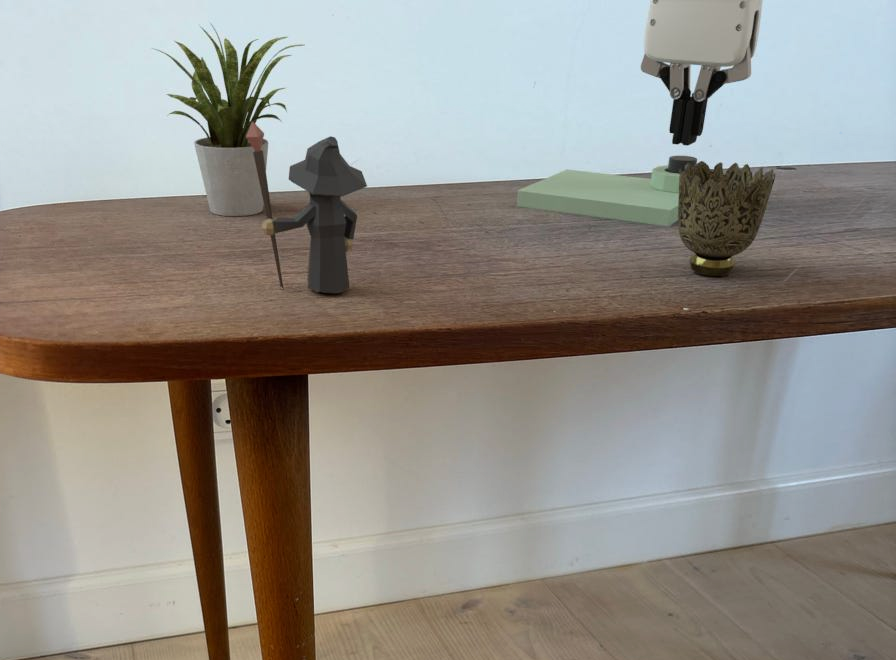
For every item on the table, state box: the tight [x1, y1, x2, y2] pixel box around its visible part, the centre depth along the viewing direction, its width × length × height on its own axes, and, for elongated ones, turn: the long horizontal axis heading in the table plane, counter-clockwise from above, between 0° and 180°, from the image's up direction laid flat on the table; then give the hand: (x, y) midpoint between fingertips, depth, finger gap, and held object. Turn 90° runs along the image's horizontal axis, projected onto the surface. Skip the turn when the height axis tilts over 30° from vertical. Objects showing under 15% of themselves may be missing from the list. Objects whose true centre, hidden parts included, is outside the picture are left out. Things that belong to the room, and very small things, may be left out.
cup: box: [677, 160, 776, 277], centre depth 86 cm, size 8×7×8 cm
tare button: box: [667, 155, 698, 174], centre depth 107 cm, size 3×3×2 cm
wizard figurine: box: [246, 121, 368, 294], centre depth 79 cm, size 8×6×12 cm
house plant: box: [151, 22, 304, 217], centre depth 100 cm, size 14×14×16 cm
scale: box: [516, 164, 679, 227], centre depth 108 cm, size 16×13×3 cm
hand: (684, 142), depth 106 cm, fingers closed
